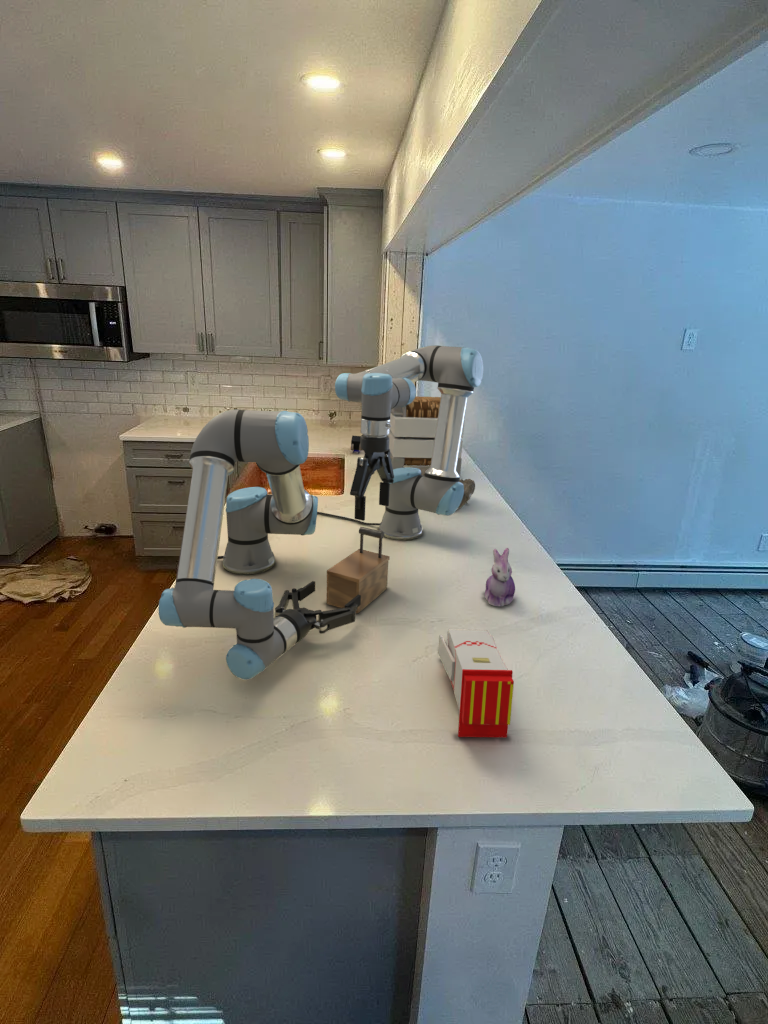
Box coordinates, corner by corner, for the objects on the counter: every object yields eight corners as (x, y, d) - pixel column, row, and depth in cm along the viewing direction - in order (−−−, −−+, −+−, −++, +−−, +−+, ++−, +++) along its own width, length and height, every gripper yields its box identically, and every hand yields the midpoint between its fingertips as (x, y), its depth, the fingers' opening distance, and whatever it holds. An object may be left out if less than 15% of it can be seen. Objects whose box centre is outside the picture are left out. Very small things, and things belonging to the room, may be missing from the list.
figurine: (497, 611, 151) (503, 559, 146) (474, 594, 159) (479, 545, 154) (524, 604, 155) (532, 554, 150) (501, 588, 163) (507, 540, 158)
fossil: (439, 484, 243) (468, 465, 238) (451, 501, 246) (481, 483, 241) (438, 506, 224) (470, 486, 219) (452, 524, 226) (484, 505, 221)
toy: (488, 613, 130) (523, 677, 101) (484, 667, 133) (517, 744, 104) (435, 612, 130) (455, 676, 101) (432, 666, 133) (451, 743, 103)
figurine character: (362, 457, 305) (363, 447, 318) (362, 443, 301) (363, 434, 315) (350, 456, 304) (351, 447, 318) (350, 443, 301) (351, 434, 314)
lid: (359, 551, 162) (360, 523, 159) (389, 559, 158) (391, 530, 155) (326, 573, 148) (326, 543, 145) (359, 583, 144) (360, 551, 141)
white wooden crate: (382, 463, 289) (386, 382, 275) (445, 464, 293) (451, 384, 279) (390, 482, 257) (394, 392, 243) (460, 483, 261) (468, 394, 247)
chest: (357, 580, 165) (357, 552, 162) (387, 588, 161) (388, 560, 158) (326, 603, 151) (326, 574, 148) (358, 613, 147) (359, 583, 144)
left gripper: (242, 629, 132) (296, 593, 150) (332, 662, 122) (378, 619, 140) (240, 601, 130) (295, 567, 148) (332, 632, 119) (380, 591, 137)
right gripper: (364, 445, 134) (361, 529, 142) (408, 429, 155) (404, 502, 163) (337, 441, 138) (335, 522, 145) (384, 425, 159) (381, 497, 166)
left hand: (336, 592), depth 144 cm, fingers open, 13 cm apart
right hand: (372, 512), depth 154 cm, fingers open, 13 cm apart
